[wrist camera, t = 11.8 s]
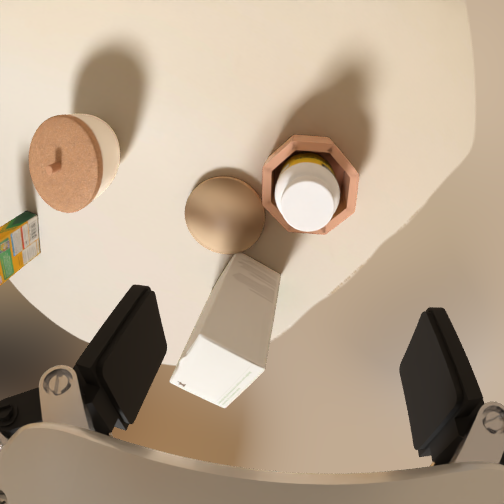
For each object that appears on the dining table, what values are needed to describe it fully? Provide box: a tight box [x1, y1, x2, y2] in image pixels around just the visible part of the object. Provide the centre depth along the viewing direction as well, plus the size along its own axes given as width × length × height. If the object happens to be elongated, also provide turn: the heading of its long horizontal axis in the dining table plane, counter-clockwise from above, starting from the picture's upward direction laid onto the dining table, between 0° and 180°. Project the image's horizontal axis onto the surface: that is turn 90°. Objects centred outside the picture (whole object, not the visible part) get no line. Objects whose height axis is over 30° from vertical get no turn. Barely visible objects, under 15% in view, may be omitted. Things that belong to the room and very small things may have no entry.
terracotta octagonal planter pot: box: [262, 135, 359, 235], centre depth 29 cm, size 9×9×5 cm
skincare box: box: [170, 252, 281, 408], centre depth 32 cm, size 8×7×16 cm
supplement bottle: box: [275, 151, 340, 232], centre depth 26 cm, size 5×5×10 cm
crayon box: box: [0, 211, 40, 286], centre depth 36 cm, size 7×3×12 cm, turn 164°
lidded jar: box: [29, 113, 120, 213], centre depth 29 cm, size 11×11×9 cm
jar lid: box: [185, 176, 265, 254], centre depth 35 cm, size 9×9×1 cm
